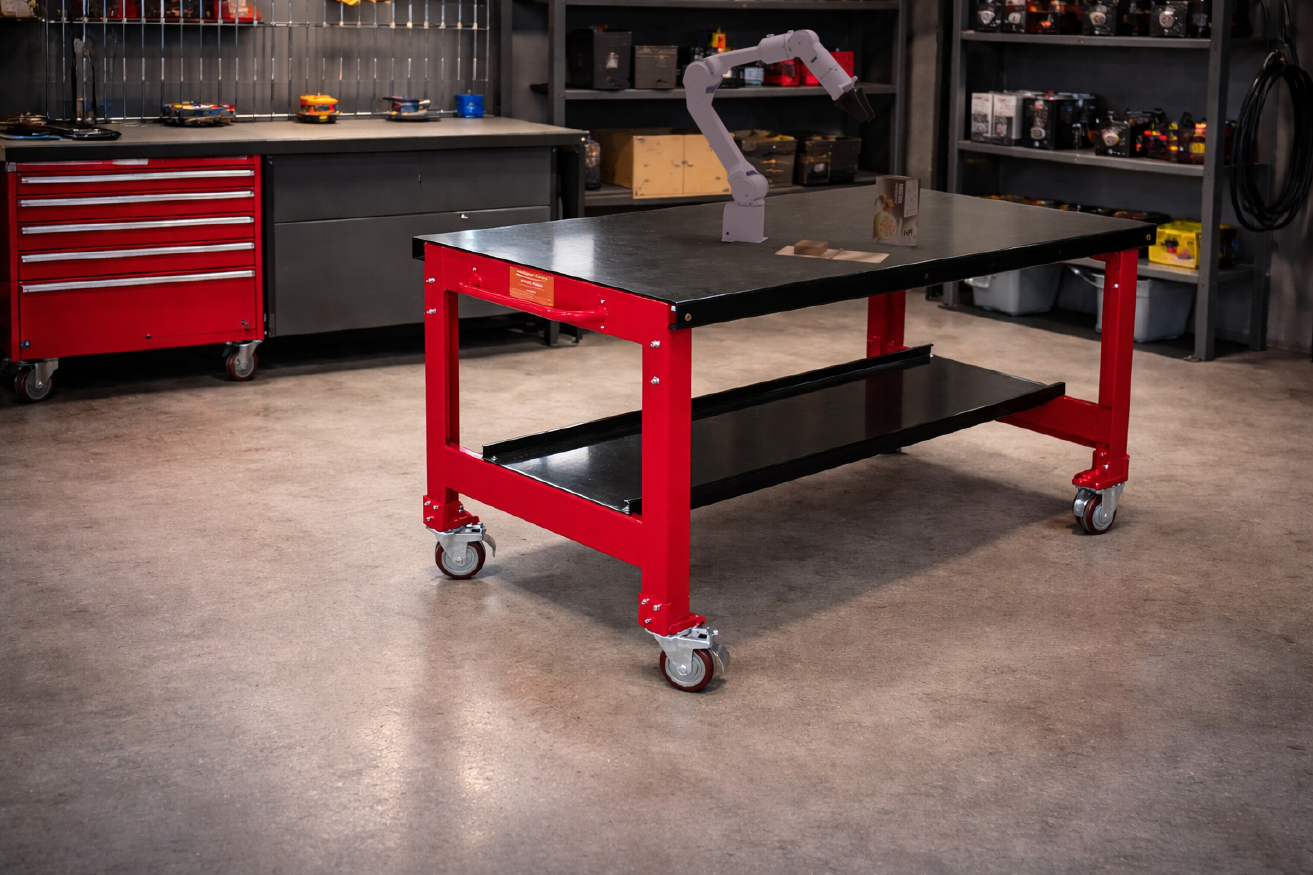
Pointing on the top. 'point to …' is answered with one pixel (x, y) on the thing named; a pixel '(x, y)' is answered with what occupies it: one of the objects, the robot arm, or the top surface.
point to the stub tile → (810, 247)
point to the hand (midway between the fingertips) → (868, 119)
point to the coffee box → (896, 210)
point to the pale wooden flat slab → (839, 255)
